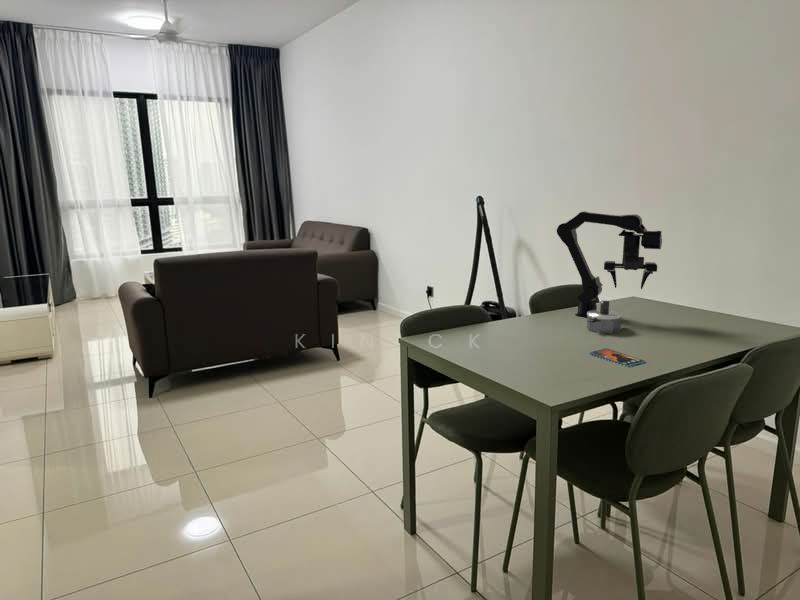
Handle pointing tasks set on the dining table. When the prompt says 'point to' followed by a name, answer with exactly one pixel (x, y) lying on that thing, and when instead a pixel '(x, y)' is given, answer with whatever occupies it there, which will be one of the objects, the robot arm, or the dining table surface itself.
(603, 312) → the lid
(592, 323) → the pot
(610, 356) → the smartphone
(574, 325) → the dining table surface
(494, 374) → the dining table surface
